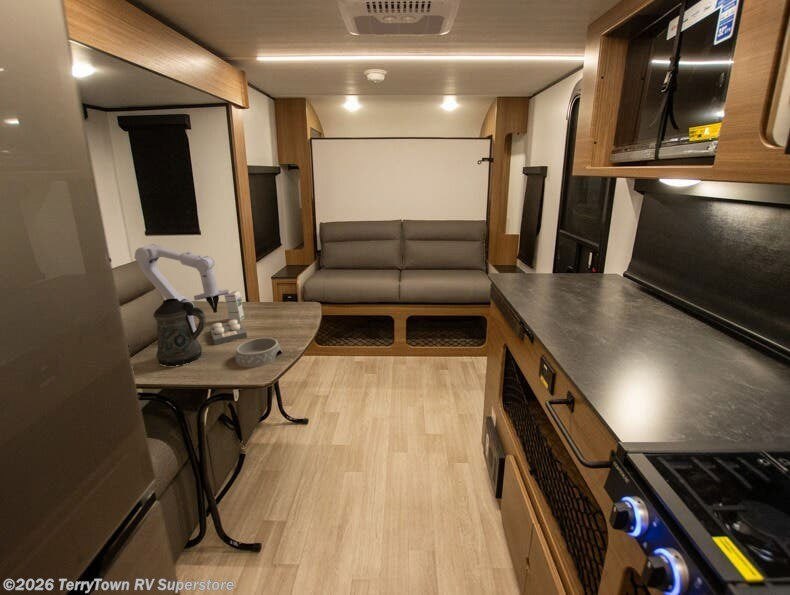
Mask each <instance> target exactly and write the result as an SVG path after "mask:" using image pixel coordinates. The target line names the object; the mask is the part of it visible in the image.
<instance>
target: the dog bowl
mask: <svg viewBox="0 0 790 595" xmlns="http://www.w3.org/2000/svg"><path fill="white" fill-rule="evenodd" d="M279 351H280V352H281V353H283V350H282V349H281V347H280V344H279V342H278V340H277V339H276V338H273V337H258V338H253V339H250V340H247V341H244V342H242V343H241V344H239V345H238V346H237V347H236V349H235V359H234V360H235V364H236V363H237V364H239V365H241V366H240V367H242V366H244V368H257V367H258V368H259V367H263V366H267V365H269V364H272V363H274V362H276V357H277V354H278V352H279ZM237 364H236V365H237ZM239 365H238V366H239Z"/></svg>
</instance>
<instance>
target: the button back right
mask: <svg viewBox="0 0 790 595" xmlns="http://www.w3.org/2000/svg"><path fill="white" fill-rule="evenodd" d="M227 323H229V327H231V325H233V324H238V322H237V320H235V319H234V320H228V322H227Z"/></svg>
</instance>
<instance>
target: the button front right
mask: <svg viewBox="0 0 790 595" xmlns="http://www.w3.org/2000/svg"><path fill="white" fill-rule="evenodd" d="M237 330H241V328H240V324H233V325H231V331H237Z"/></svg>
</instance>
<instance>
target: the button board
mask: <svg viewBox="0 0 790 595" xmlns="http://www.w3.org/2000/svg"><path fill="white" fill-rule="evenodd" d="M237 322H238V324H240V328H241V330H237V331H231V327H229V323H228V322H223V323H222V327H223V328H224V332H225V333H223V334H219V335H215V331H214V330H213V326H212V325H209V331H210V335H211V337H212V340H214V341H213V343H214V345H215V344H217V345H220V343H221V344H226V343H229V342H234V341H238V340H237V339H239V340H243V339H246V338H248V334H247V331H246V329H245V328H244V326H243V324H242V323H241V321H239V320H238V321H237ZM242 338H243V339H242ZM233 340H234V341H233ZM225 342H226V343H225Z"/></svg>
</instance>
